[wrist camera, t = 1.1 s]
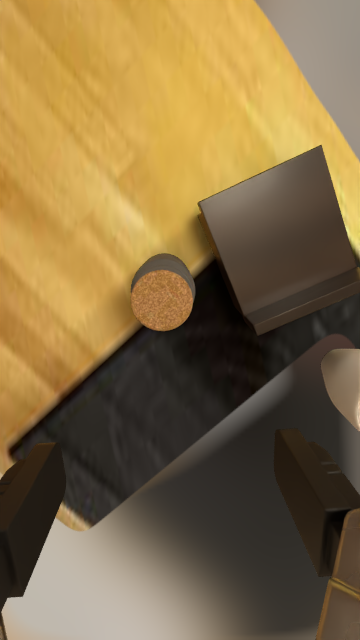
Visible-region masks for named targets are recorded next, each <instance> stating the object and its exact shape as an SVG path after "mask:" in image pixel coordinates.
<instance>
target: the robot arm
mask: <svg viewBox="0 0 360 640" xmlns="http://www.w3.org/2000/svg"><path fill="white" fill-rule="evenodd" d="M274 472H275V477H276V480H277V483H278V485H279V488H280V490H281V492H282V495H283V497H284V499H285V501H286V504H287V505H288V508H289V511H290V513H291V515H292V517H293V520H294V522H295V524H296V526H297V529H298V531H299V533H300V535H301V537H302V540H303V542H304V544H305V547H306V549H307V551H308V554H309V556H310V558H311V560H312V562H313V565H314V567H315V569H316V572H317V574H318V576H319V577H323V576H332V578H331V577H330V579H329V582H328V586H327V590H326V595H325V599H324V604H323V608H322V613H321V617H320V621H319V626H318V631H317V635H316V639H315V640H360V495H359V494H358V492H357V491H356V490H355V488H354V487H353V486H352V484H351V483H350V481H349V480H348V479H347V478H346V476H345V475H344V474H342V471H341V469H340V468H339V467H338V465H337V464H335V461H334V460H333V459H332V457H331V456H330V455H329V453H328V452H327V451H326V450H325V449H323V448H322V447H321V446H319V445H318V444H316V443H315V442H306V440H305V439H304V437H303V436H302V434H301V433H300V431H299V430H298V429H296V428H295V429H279V430H276V432H275V449H274ZM65 489H66V475H65V469H64V463H63V457H62V451H61V446H60V444H59V443H42V444H36V445H35V446H34V448H33V449H32V451H31V452H30V454H29V455H28V457H27V458H26V459H22V460H19V461H18V462H17V463H15V464H14V465H13V466H12V467H11V468H9V469H8V470H7V471H6V473H5V474H4V475H3V477H2V478H1V480H0V640H7V636H6V631H5V626H4V622H3V617H2V613H1V611H2V609H3V606H4V604H5V602H6V600H7V598H10V597H22V596H23V595H24V592H25V590H26V587H27V585H28V582H29V580H30V577H31V575H32V573H33V570H34V568H35V565H36V563H37V560H38V558H39V555H40V553H41V551H42V548H43V546H44V543H45V541H46V538H47V536H48V533H49V531H50V529H51V526H52V524H53V521H54V519H55V516H56V514H57V512H58V509H59V507H60V504H61V502H62V499H63V497H64V494H65Z"/></svg>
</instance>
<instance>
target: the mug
mask: <svg viewBox="0 0 360 640" xmlns="http://www.w3.org/2000/svg"><path fill="white" fill-rule="evenodd" d="M321 371H322V375H323V378H324V383H325V386H326V389H327V392H328V395H329V397H330V399H331V401H332V402H333V404H334V405H335V407H336V408H337V409H338V410H339V411H340V412H341V413H342V414H343V416H344V417H345V418H346V419H347V420H348V421H349V422H350V423H352V425H353V426H354V427H355V428H356V429H357V430H358V431H359V432H360V349H334V350H331V351H330V352H328V353H327V354H326V355H325V356H324V357H323V359H322V361H321Z"/></svg>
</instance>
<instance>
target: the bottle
mask: <svg viewBox="0 0 360 640" xmlns="http://www.w3.org/2000/svg"><path fill="white" fill-rule="evenodd" d="M194 297H195V285H194V281H193V278H192V276H191V274H190V272H189V270H188V269H187V267H186V265H185V264H184V263H183V262H182V261H181V260H180V259H179V258H178V257H176V256H174V255H171V254H158V255H155V256H153V257H151V258H150V259H149V260H147V261H146V262H145V263H144V264H143V265H142V266H141V267H140V268H139V270H138V271H137V272H136V274H135V276H134V278H133V280H132V284H131V307H132V310H133V313H134V315H135V316H136V318H137V319H138V321H139V322H141V323H142V324H143V325H144V326H146V327H148V328H150V329H153V330H157V331H167V330H171V329H174V328H176V327H178V326H180V325H181V324H182V323H184V321H185V320H186V319H187V318H188V316H189V314H190V312H191V309H192V305H193V301H194Z"/></svg>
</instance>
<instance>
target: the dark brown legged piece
mask: <svg viewBox="0 0 360 640" xmlns="http://www.w3.org/2000/svg"><path fill="white" fill-rule="evenodd" d="M198 206H199V209H200V211H201V213H200V214H199V215H198V218H199V220H200V223H201V225H202V228H203V230H204V232H205V235H206V237H207V240H208V242H209V245H210V247H211V250H212V252H213V255H214V257H215V260H216V262H217V264H218V267H219V269H220V272H221V274H222V277H223V279H224V282H225V284H226V287H227V289H228V292H229V294H230V297H231V299H232V301H233V304H234V306H235V308H236V309H237V310H238V311H239V312H240V313H241V314H242V316H243V318H244V321H245V323H246V324H247V325H248V326H249V327H250V328H251V329H252V330H253V331H254V332H255V333H256V335H257V336H258V335H261V334H263V333H265V332H268V331H270V330H272V329H275V328H277V327H279V326H282V325H284V324H286V323H289V322H291V321H294V320H296V319H298V318H301V317H303V316H305V315H308V314H310V313H312V312H315V311H317V310H319V309H322V308H324V307H327V306H329V305H331V304H334V303H336V302H338V301H341V300H343V299H345V298H348V297H350V296H352V295H355V294H357V293H359V292H360V268H359V267H356V263H355V260H354V256H353V253H352V250H351V246H350V243H349V239H348V236H347V232H346V229H345V225H344V222H343V218H342V215H341V211H340V208H339V204H338V201H337V197H336V194H335V190H334V187H333V183H332V180H331V177H330V173H329V170H328V166H327V163H326V159H325V156H324V152H323V149H322V146H321V145H320V146H318V147H316V148H314V149H311V150H309V151H307V152H305V153H303V154H301V155H299V156H296V157H294V158H292V159H290V160H288V161H286V162H284V163H281V164H279V165H277V166H275V167H273V168H271V169H268V170H266V171H264V172H262V173H260V174H258V175H256V176H253V177H251V178H249V179H247V180H245V181H243V182H241V183H238V184H236V185H234V186H232V187H230V188H228V189H226V190H223V191H221V192H219V193H217V194H215V195H213V196H211V197H208V198H206V199H204V200H202V201H200V202H198Z"/></svg>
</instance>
